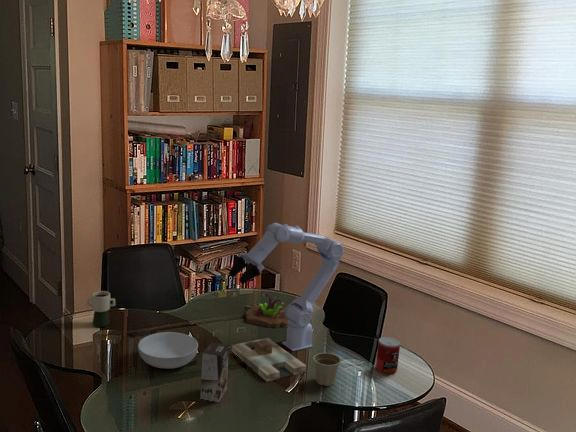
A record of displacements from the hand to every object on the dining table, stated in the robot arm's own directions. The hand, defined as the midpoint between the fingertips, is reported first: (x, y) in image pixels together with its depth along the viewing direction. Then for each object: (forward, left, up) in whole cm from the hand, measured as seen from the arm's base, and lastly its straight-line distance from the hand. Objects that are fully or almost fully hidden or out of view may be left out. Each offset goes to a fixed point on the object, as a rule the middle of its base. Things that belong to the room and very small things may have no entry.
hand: (235, 279), depth 230 cm
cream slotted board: (-11, +7, -30) cm, 33 cm away
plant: (-33, -27, -31) cm, 53 cm away
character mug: (+32, -49, -31) cm, 66 cm away
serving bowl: (+21, -8, -31) cm, 38 cm away
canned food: (-47, +31, -31) cm, 64 cm away
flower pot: (-21, +29, -31) cm, 47 cm away
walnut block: (-11, +4, -28) cm, 30 cm away
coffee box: (+17, +20, -31) cm, 41 cm away
